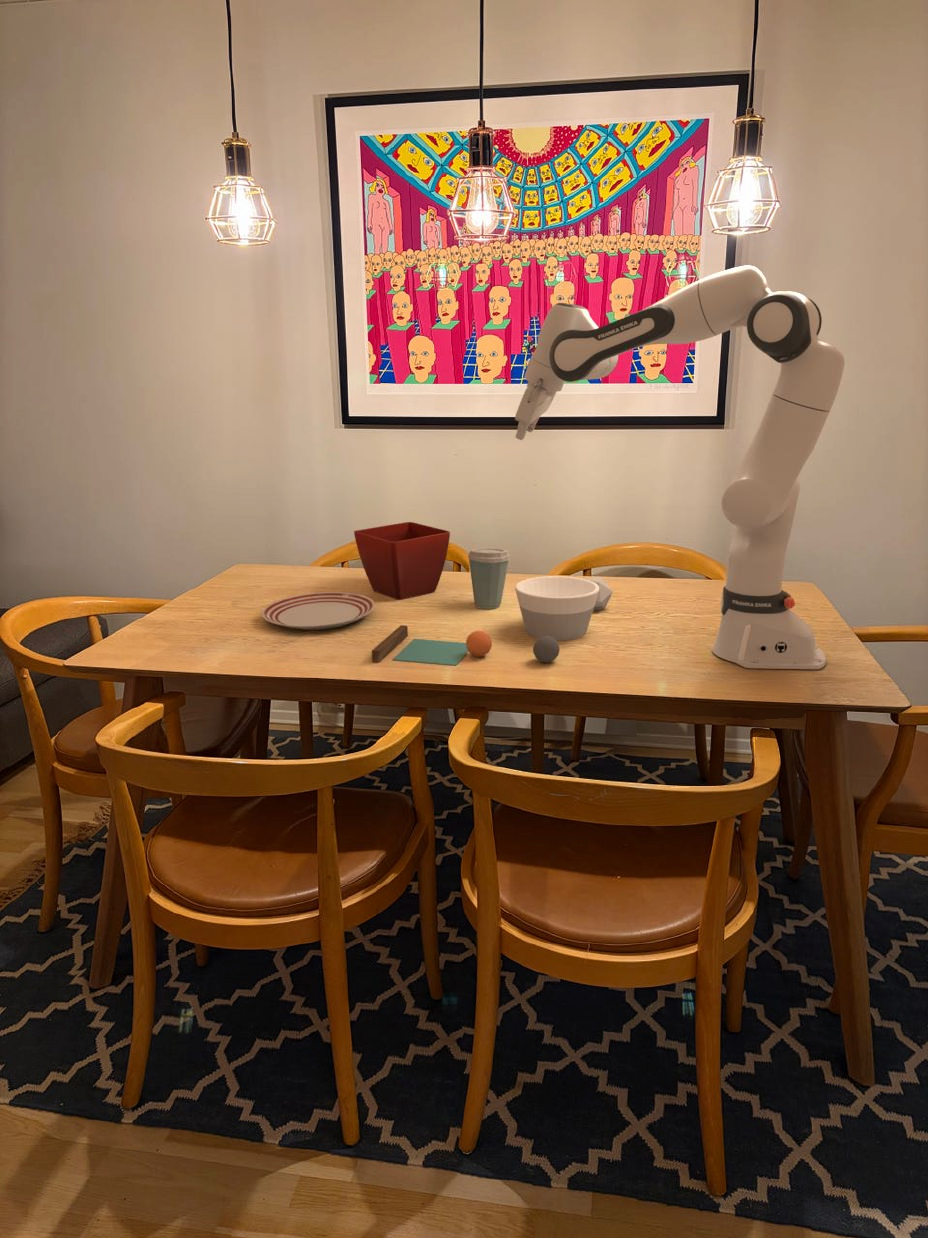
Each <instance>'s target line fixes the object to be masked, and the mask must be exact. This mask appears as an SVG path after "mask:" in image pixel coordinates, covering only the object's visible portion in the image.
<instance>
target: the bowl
mask: <svg viewBox="0 0 928 1238" xmlns="http://www.w3.org/2000/svg"><path fill="white" fill-rule="evenodd" d="M514 589H515V590H514V591H515V594H516V598H517V602H518V605H519V609H520V613H521V619H522V622H523V624H524V625H523V626H524V629H525V630H524V631H525V632H526V634H527V635H529V636H530V637H533V638H536V639H538V638H540V637H542V636H550V637H553V638H554V639H555V640H556V641H571V640H576V639H580V638H582V637H584V636H585V635H586V634H587V631H588V628H589V625H590V622H591V619H592V616H593V612H594V610H593V609H594V606H595V603H596V599H597V596H598V592H599V586H598V585H597V584H596V583H594V582H591V581H589V580H585V579H584V578H579V577H574V576H563V575H551V576H550V575H549V576H535V577H531V578H526V579H523V580H520V581H518V582H517V583H516V584H515V586H514Z"/></svg>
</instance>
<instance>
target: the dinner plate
mask: <svg viewBox="0 0 928 1238" xmlns="http://www.w3.org/2000/svg"><path fill="white" fill-rule="evenodd" d="M375 603H376V602H375V601H374V600H373V599H372V598H370V597H368V596H365V595H362V594H359V593H358V594H357V593H353V592H341V591H322V592H311V593H304V594H297V595H293V596H289V597H284V598H282V599H278V600H276V601H274V602H271V603H270V604H268V605H267V606H265V607H264V608H263V609H262V610H261V616H262V618H263V619H264V620H265V621H267V622H268V623H270V624H274V625H278V626H280V627H285V628H289V629H295V630H302V631H303V630H305V631H318V630H326V629H327V630H329V629H336V628H340V627H343V626H346V625H348V624H352V623H354V622H357V621H359V620H361V619H363V618H365V617H367V616H368V615H370V614H371V612H373V611H374V609H375V607H376V604H375Z"/></svg>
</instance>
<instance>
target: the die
mask: <svg viewBox="0 0 928 1238" xmlns="http://www.w3.org/2000/svg"><path fill="white" fill-rule="evenodd" d="M583 579H585V580H589V581H591V582H594V583H596V584H597V585H598V586H599V592H598V596H597V599H596V603H595V606H594V609H593V611H600V610H601V611H602V610H606V607H607V605H608V603H609V601H610V599H611V596H612V594H613V593H614V592H613V590H612V589H611V587H610V586H609V585H608V584H607V583H606V581H605V580H604V578H602V576H597V577H589V578H588V577H587V578H585V577H584V578H583Z"/></svg>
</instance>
